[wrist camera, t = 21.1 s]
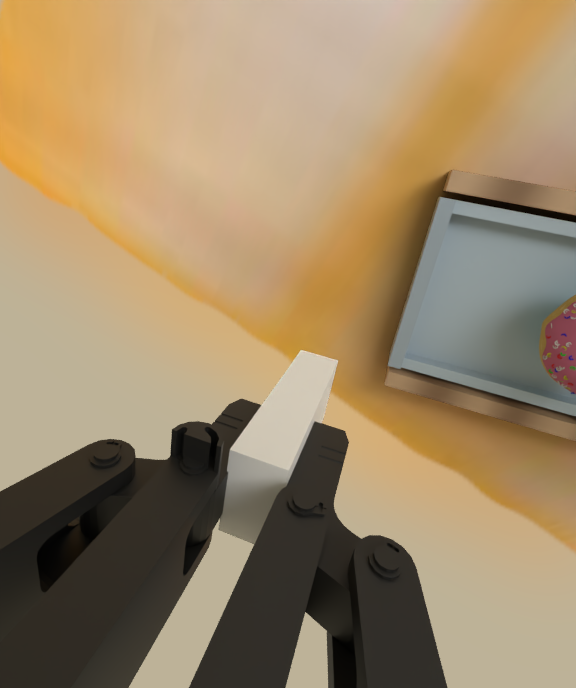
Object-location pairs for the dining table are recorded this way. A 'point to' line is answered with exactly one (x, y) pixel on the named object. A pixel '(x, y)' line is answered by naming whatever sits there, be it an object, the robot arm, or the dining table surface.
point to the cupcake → (560, 345)
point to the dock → (470, 396)
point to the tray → (488, 301)
